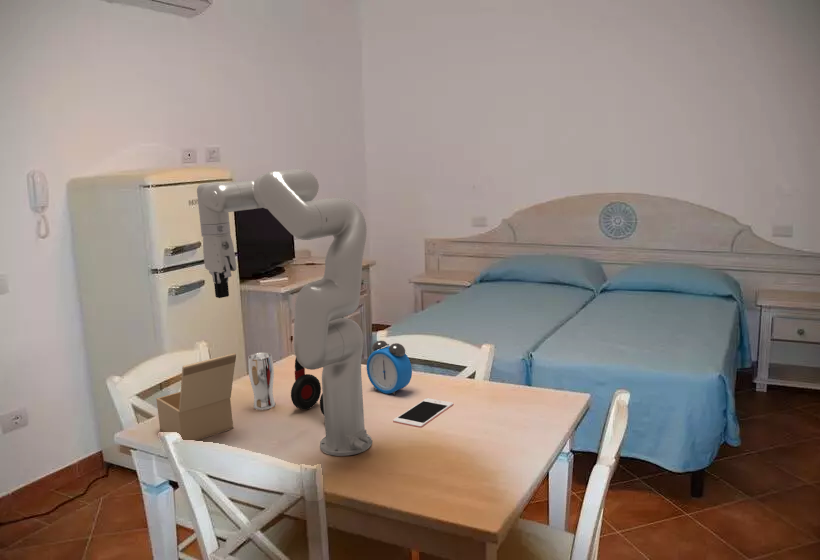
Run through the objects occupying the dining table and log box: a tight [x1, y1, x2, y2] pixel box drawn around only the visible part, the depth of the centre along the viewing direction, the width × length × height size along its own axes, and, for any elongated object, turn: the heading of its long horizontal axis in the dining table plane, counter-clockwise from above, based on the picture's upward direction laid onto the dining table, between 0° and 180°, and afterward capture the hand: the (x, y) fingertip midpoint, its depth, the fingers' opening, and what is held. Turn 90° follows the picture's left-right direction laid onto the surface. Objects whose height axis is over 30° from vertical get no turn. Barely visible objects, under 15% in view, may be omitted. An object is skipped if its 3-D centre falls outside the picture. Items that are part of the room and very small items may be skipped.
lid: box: [179, 352, 237, 413], centre depth 173 cm, size 14×14×1 cm
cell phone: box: [392, 397, 454, 428], centre depth 188 cm, size 9×18×1 cm, turn 148°
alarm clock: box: [366, 340, 413, 396], centre depth 204 cm, size 13×6×15 cm, turn 51°
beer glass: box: [247, 352, 276, 411], centre depth 197 cm, size 7×7×15 cm
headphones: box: [290, 357, 324, 416], centre depth 189 cm, size 18×10×20 cm, turn 48°
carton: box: [155, 391, 234, 441], centre depth 183 cm, size 14×14×9 cm
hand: (222, 296), depth 189 cm, fingers closed
